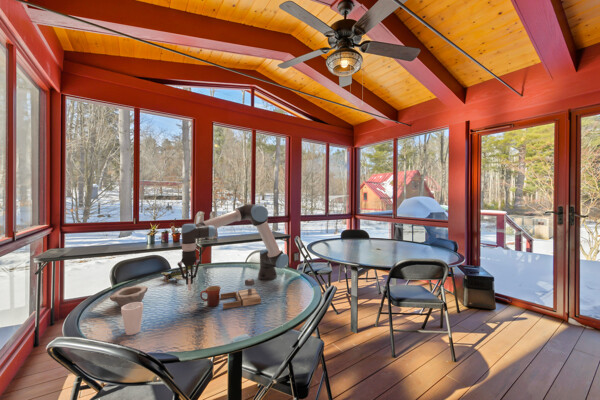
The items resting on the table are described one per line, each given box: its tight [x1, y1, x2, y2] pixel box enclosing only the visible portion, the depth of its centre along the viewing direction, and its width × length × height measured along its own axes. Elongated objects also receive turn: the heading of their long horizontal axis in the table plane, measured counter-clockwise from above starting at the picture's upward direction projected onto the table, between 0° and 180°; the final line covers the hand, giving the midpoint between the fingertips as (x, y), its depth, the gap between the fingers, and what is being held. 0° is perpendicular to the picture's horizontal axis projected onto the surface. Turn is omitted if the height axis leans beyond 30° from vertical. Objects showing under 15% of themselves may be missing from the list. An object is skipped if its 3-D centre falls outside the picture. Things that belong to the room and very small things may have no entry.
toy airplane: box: [161, 266, 195, 284], centre depth 213 cm, size 31×25×10 cm
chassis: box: [220, 288, 262, 310], centre depth 170 cm, size 18×22×6 cm
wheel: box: [244, 278, 255, 287], centre depth 173 cm, size 6×6×3 cm
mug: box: [199, 285, 221, 308], centre depth 164 cm, size 12×9×10 cm
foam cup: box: [120, 301, 144, 336], centre depth 134 cm, size 10×9×13 cm
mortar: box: [109, 285, 149, 308], centre depth 165 cm, size 17×17×9 cm
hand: (189, 289), depth 159 cm, fingers closed
